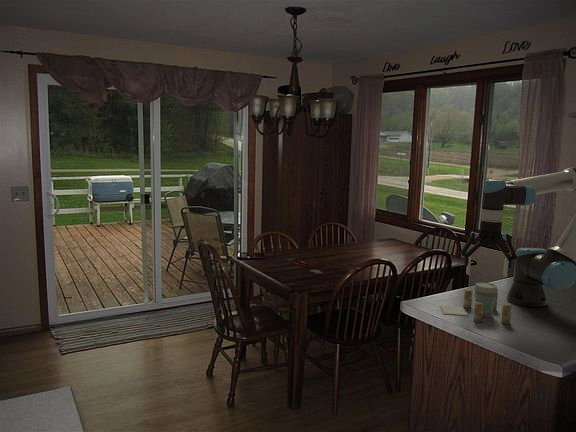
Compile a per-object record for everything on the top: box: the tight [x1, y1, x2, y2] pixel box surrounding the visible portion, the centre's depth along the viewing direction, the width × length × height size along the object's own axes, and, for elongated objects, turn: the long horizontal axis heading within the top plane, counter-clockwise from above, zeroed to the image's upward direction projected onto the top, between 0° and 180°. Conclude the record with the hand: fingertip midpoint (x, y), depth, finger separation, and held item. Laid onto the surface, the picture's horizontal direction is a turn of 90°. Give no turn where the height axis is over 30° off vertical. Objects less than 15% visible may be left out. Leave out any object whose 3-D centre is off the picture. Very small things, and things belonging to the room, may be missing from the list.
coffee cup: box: [473, 281, 499, 318], centre depth 186 cm, size 8×9×12 cm
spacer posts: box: [462, 288, 512, 325], centre depth 186 cm, size 14×20×7 cm
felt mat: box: [439, 305, 469, 317], centre depth 190 cm, size 9×9×1 cm
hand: (486, 275), depth 184 cm, fingers open, 13 cm apart
